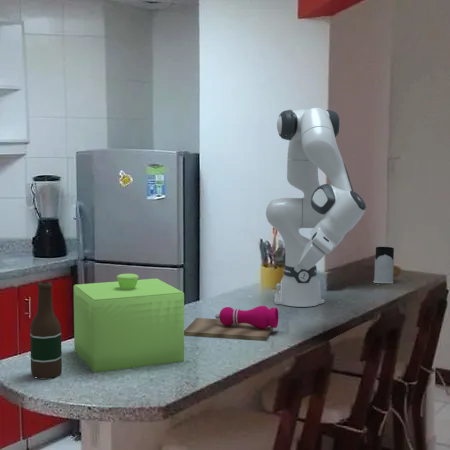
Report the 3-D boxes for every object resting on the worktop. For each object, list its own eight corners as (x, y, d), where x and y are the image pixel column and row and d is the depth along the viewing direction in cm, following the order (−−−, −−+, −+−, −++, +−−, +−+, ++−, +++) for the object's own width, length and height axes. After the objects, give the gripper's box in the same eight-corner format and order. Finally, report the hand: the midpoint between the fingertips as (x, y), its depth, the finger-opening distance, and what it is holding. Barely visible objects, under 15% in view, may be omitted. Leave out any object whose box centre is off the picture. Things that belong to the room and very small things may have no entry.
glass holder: (373, 284, 312) (374, 249, 310) (372, 278, 326) (373, 244, 324) (394, 285, 311) (396, 249, 309) (392, 279, 325) (394, 245, 323)
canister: (94, 373, 193) (93, 285, 190) (74, 351, 212) (73, 271, 209) (183, 361, 203) (184, 278, 201) (157, 341, 223) (157, 265, 220)
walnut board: (183, 335, 230) (183, 331, 229) (196, 321, 247) (196, 317, 247) (266, 340, 225) (266, 336, 224) (274, 325, 242) (274, 322, 242)
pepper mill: (274, 308, 229) (211, 307, 234) (274, 331, 229) (212, 329, 235) (278, 304, 236) (217, 302, 241) (279, 326, 236) (218, 324, 242)
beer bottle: (33, 370, 194) (31, 279, 191) (63, 369, 195) (62, 279, 192) (28, 380, 187) (26, 285, 184) (59, 379, 187) (58, 285, 184)
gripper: (319, 223, 238) (291, 254, 242) (314, 238, 218) (284, 272, 223) (334, 235, 238) (306, 267, 242) (331, 252, 218) (300, 286, 222)
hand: (296, 269), depth 232 cm, fingers closed
